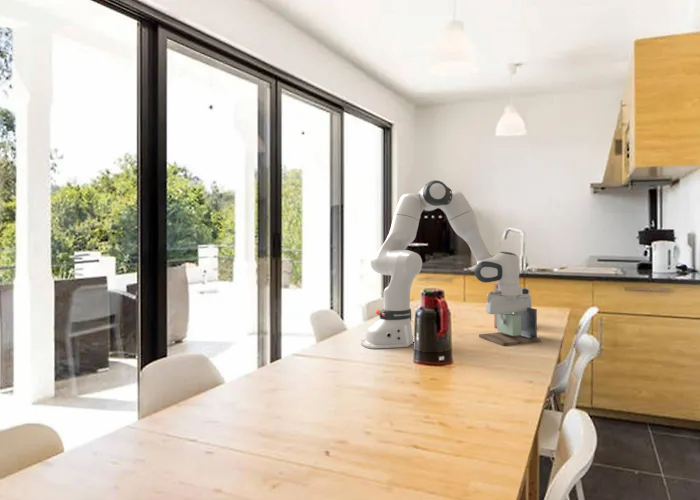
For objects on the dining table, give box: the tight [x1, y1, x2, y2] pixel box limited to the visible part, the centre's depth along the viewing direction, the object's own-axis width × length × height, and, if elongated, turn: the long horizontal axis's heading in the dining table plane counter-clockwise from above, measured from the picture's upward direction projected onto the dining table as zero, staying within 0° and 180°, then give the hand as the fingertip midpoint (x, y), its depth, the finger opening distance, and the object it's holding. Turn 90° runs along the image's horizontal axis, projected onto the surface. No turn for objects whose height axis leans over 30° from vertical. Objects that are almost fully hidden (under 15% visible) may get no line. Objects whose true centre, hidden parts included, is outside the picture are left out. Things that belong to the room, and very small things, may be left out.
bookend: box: [518, 307, 538, 339], centre depth 221 cm, size 4×14×12 cm, turn 18°
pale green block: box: [496, 313, 521, 336], centre depth 219 cm, size 4×11×8 cm, turn 18°
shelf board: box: [478, 331, 542, 347], centre depth 220 cm, size 18×18×1 cm
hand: (508, 323), depth 219 cm, fingers closed on pale green block, 4 cm apart
